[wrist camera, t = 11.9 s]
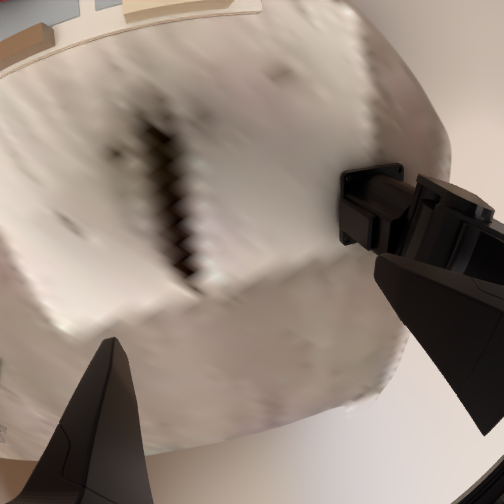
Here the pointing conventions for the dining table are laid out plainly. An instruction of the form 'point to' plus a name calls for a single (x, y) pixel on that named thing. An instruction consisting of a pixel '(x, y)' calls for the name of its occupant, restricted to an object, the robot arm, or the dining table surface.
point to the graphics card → (3, 429)
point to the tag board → (91, 22)
